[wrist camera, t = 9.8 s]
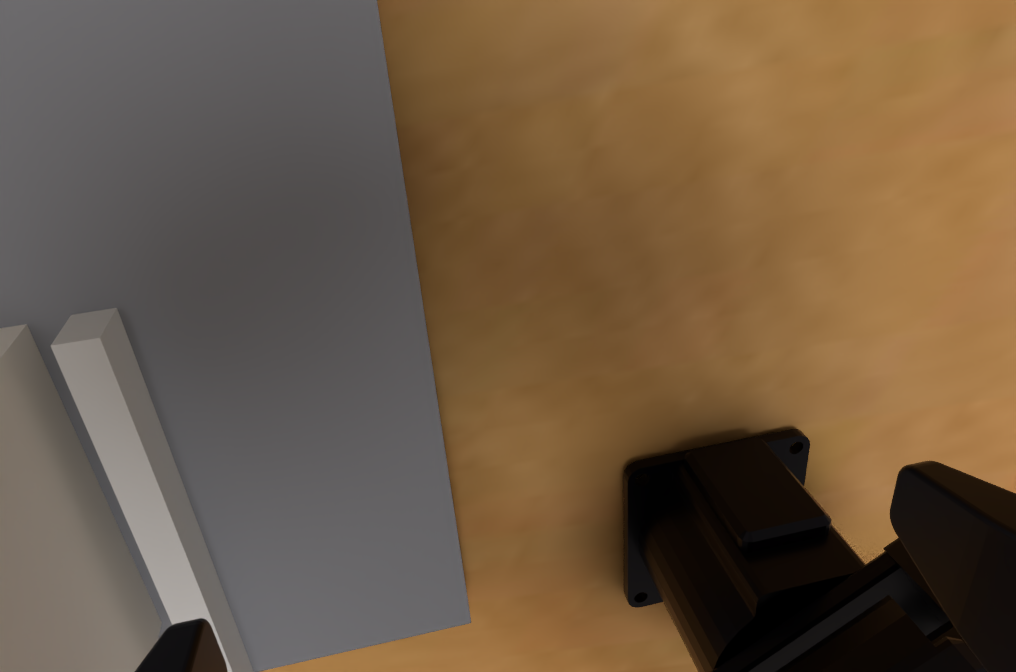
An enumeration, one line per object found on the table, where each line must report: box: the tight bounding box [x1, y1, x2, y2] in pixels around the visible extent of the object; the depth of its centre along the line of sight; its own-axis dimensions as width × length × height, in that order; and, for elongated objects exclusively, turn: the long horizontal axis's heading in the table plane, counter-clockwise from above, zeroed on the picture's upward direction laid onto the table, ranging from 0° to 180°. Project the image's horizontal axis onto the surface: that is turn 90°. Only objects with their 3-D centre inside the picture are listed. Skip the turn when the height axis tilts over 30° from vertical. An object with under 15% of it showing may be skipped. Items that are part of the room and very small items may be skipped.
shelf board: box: [0, 0, 471, 672], centre depth 18 cm, size 24×16×4 cm, turn 5°
